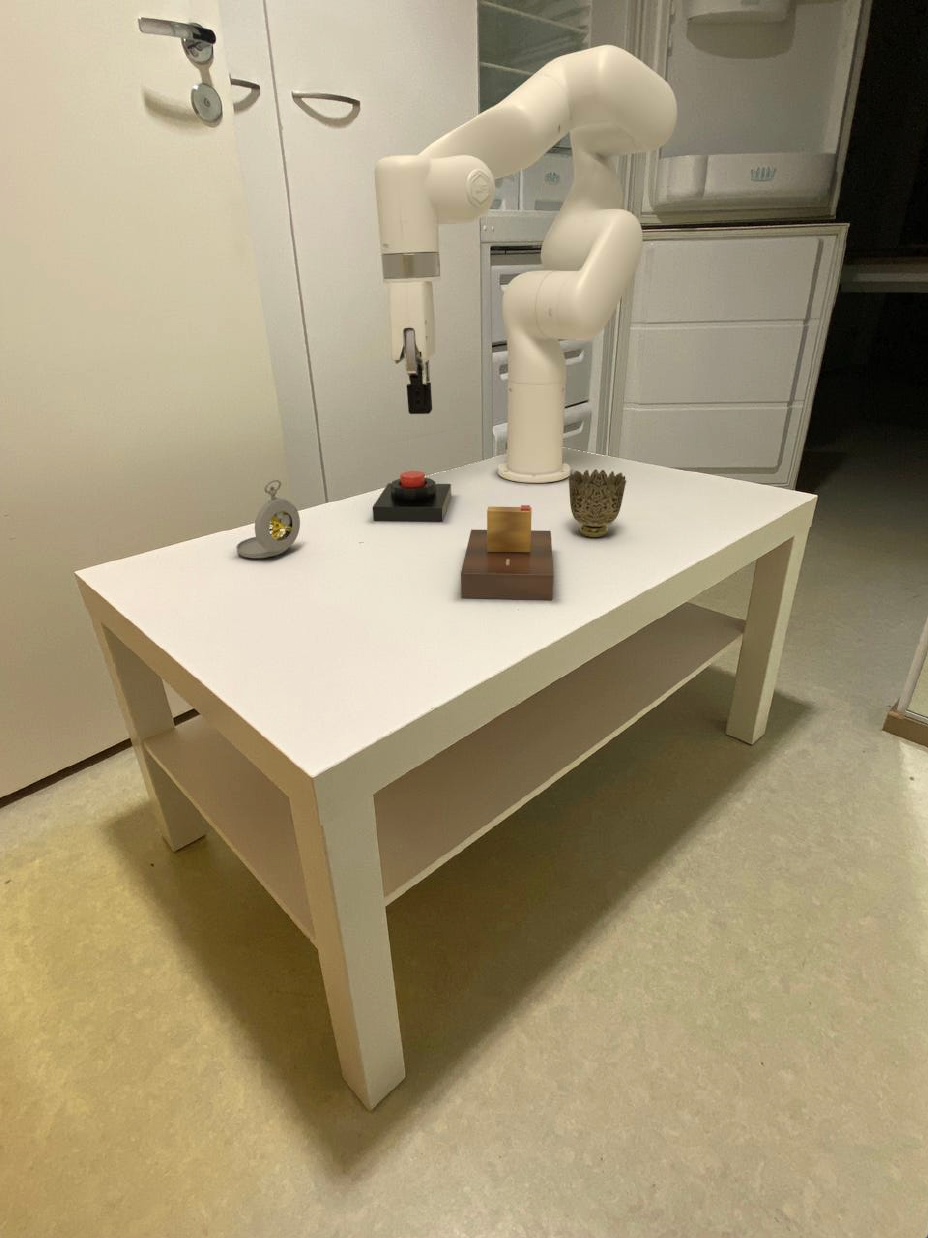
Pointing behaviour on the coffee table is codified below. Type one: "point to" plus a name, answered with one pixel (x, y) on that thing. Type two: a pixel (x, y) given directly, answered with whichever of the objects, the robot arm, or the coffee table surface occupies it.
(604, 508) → the cup
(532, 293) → the robot arm
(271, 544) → the pocket watch
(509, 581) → the plate
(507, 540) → the lock turn
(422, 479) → the bell button
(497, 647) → the coffee table surface
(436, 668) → the coffee table surface
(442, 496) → the black button mount
